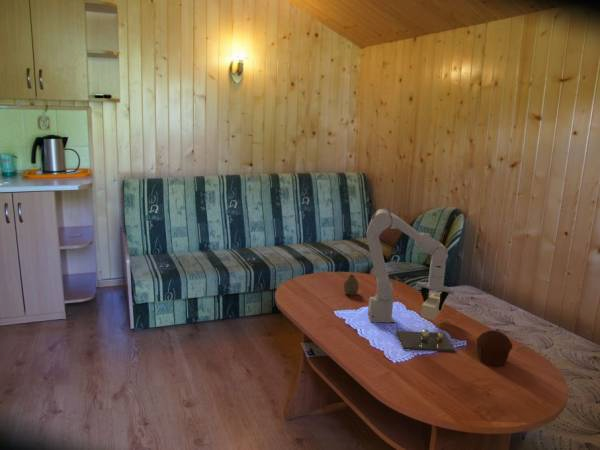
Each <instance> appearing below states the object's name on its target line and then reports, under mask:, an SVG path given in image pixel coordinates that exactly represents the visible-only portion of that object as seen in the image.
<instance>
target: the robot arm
mask: <svg viewBox="0 0 600 450" xmlns="http://www.w3.org/2000/svg"><path fill="white" fill-rule="evenodd" d="M388 228H389V229H390V230H391V229H392V230H393V229H395V230H397V229H398V230H399V231H401V232H403V233H404V234H405V235H407V236H408V237H409V238H411V239H413V240H414V245H415V246H417V247H418V248H420V249H421V250H423V252H425V253H427V254H428V255H431V259H430V264H429V272H428V282H425V281H424V282H422V281H417V282H416V284H415V285H416V286H415V288H418V289H419V288H420V294H421V296H422V300H423V303H424V302H425V301H426V300H427V299H428V297H429V296H430V295H429V294H430V291H434V292H439V294H440V304H439V310H440V312H441V311H442V310H443V309H442V306H443V303H444V304H445V301H446V300H447V298H448V296H449V295H451V296H454V295H455V293H456V292H455V291H456V289H455V288H452V287H450V286H449V287H448V286H445V285H444V284H445V283H444V282H445V274H446V262H447V259H448V257H449V253H448V250H447V248H446V247H445V245H444V244H443V243H441V241H439V240H436V239H434V238H433V237H431V233H428V232H426V233H425V232H418V231H417V230H416V229H415V228H414V227H412V226H411V225H409V224H408V223H407V222H406V221H404V220H403V218H401V217H399V216H398V215H396V214H394V213H393V212H390V211H389V210H388V209H387V208H380V209H378V210H376V211H375V212H374V214H373V215H372V216H371V219H370V222H369V224H368V227H367V230H366V233H365V236H366V241H367V244H368V249H369V254H370V258H371V262H372V265H373V270H374V274H375V279H376V293H375V294H374V296H370V297H369V299H368V308H367V316H369V317H368V319H370V320H369V322H370V321H371V323H390V322H394V323H395V320H394V317H393V309H394V308H393V307H394V306H393V305H394V290H393V287H394V286H393V285H394V284H393V282H392V281H391V279H390V277H389V274H388V271H387V267H386V263H385V258H384V253H383V250H382V245H381V241H380V240H381V239H380V235H381V234H382V233H383V231H386V229H388ZM441 309H442V310H441Z"/></svg>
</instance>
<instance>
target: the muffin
mask: <svg viewBox="0 0 600 450" xmlns="http://www.w3.org/2000/svg"><path fill="white" fill-rule="evenodd" d="M476 345H477V359H478V360H479V362H480V363H481V364H484V365H485V366H489V367H494V368H499V367H500V368H501V367H504V366H505V365H506V363H507V361H508V358H509V355H510V351H511V350H512V349H513V343H512V342H511V340H510V338H509V337H508V336H507V335H506V334H505V333H503V332H501V331H498V330H487V331H485V332H482V333H481V334H480V335H478V337H477V338H476Z"/></svg>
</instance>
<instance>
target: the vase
mask: <svg viewBox="0 0 600 450" xmlns="http://www.w3.org/2000/svg"><path fill="white" fill-rule="evenodd" d="M359 287H360V283H359V280H358V279H357V278H356V276H355V275H354V274H349V275H348V277H347V278H346V279H345V280H344V282H343V292H344V293H345V294H346V295H348V296H356V294H357V293H358V292H359V289H360V288H359Z"/></svg>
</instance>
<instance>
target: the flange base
mask: <svg viewBox="0 0 600 450" xmlns="http://www.w3.org/2000/svg"><path fill="white" fill-rule="evenodd" d="M396 333H397V334H396V336H397V338H399V339H398V341H399V340H400V341H399V343H400V342H401V343H400V345H401V348H402V347H403V348H402V350H403V349H409V350H408V351H426V352H427V351H429V352H431V351H432V352H454V353H455V352H456V348H455V346H454V345H453V344H452V342H451V340H450V339H449V338H448V336H447V335H446V333H445V332H432V331H431V332H430V330H429V329H425V328H423V329H422V331H406V330H405V331H403V330H397V331H396Z"/></svg>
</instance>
